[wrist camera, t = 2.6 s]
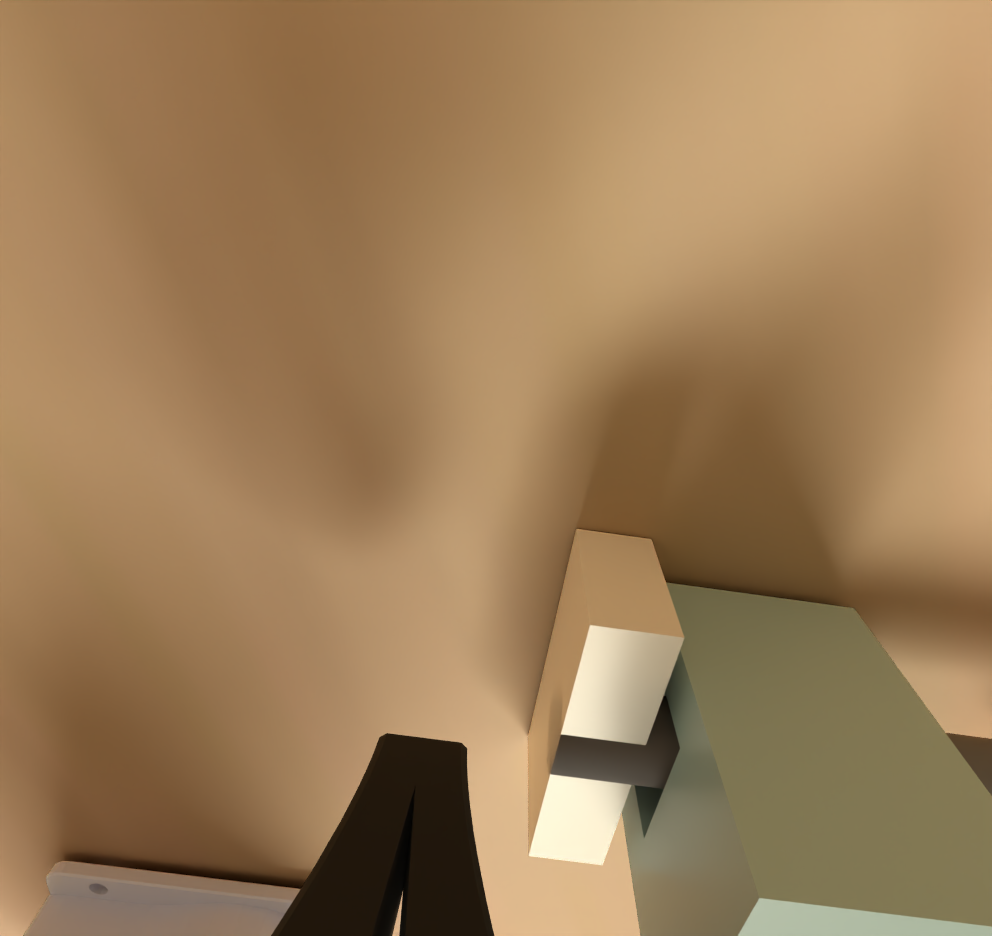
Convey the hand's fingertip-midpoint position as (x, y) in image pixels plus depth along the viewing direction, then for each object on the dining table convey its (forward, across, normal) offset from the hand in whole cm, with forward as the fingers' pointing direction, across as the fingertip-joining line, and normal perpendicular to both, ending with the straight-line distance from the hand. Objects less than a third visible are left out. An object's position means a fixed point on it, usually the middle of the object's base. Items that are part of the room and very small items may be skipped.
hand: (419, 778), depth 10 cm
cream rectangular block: (+4, -3, 0) cm, 5 cm away
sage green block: (+4, -6, 0) cm, 7 cm away
